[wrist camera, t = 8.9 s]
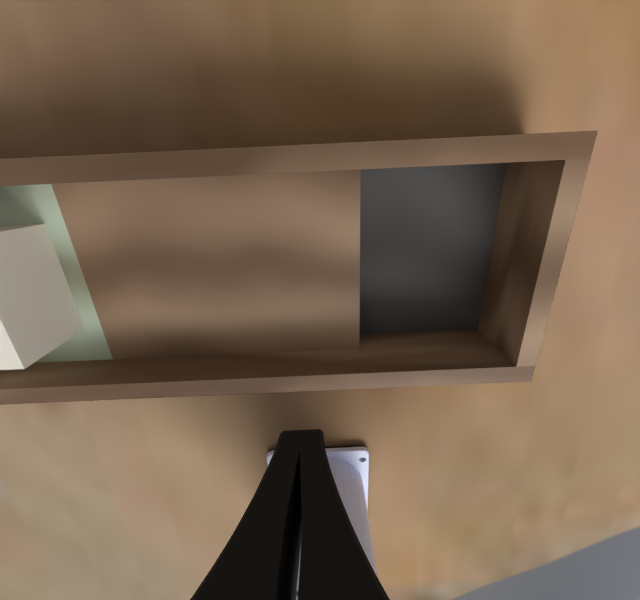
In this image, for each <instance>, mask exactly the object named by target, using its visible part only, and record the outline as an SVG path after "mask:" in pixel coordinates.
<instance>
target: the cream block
mask: <svg viewBox="0 0 640 600" xmlns="http://www.w3.org/2000/svg"><path fill="white" fill-rule="evenodd" d="M83 329H85V328H84V325H83V323H82V320H81V317H80V315H79V312H78V309H77V307H76V304H75V301H74V299H73V296H72V293H71V291H70V288H69V285H68V283H67V280H66V277H65V275H64V272H63V269H62V267H61V264H60V261H59V259H58V256H57V253H56V251H55V248H54V245H53V243H52V240H51V237H50V235H49V232H48V229H47V227H46V224H26V225H3V226H0V370H14V369H25V368H27V367H28V366H30V365H31V364H33V363H34V362H36V361H37V360H39V359H40V358H42V357H43V356H45V355H46V354H48V353H49V352H51V351H52V350H54V349H55V348H57V347H58V346H60V345H61V344H63V343H64V342H66V341H67V340H69V339H70V338H72V337H73V336H74V335H76V334H77V333H79V332H80V331H82V330H83Z"/></svg>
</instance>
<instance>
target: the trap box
mask: <svg viewBox="0 0 640 600" xmlns="http://www.w3.org/2000/svg"><path fill="white" fill-rule="evenodd" d="M597 132H598V131H580V132H559V133H538V134H516V135H495V136H474V137H453V138H431V139H410V140H389V141H368V142H346V143H325V144H304V145H282V146H261V147H240V148H219V149H197V150H176V151H155V152H134V153H112V154H91V155H70V156H49V157H27V158H6V159H0V226H3V225H26V224H46V227H47V229H48V232H49V235H50V237H51V240H52V243H53V245H54V248H55V251H56V253H57V256H58V259H59V261H60V264H61V267H62V269H63V272H64V275H65V277H66V280H67V283H68V285H69V288H70V291H71V293H72V296H73V299H74V301H75V304H76V307H77V309H78V312H79V315H80V317H81V320H82V323H83V325H84V328H85V329H83V330H82V331H80V332H79V333H77V334H76V335H74V336H73V337H72V338H70V339H69V340H67V341H66V342H64V343H63V344H61V345H60V346H58V347H57V348H55V349H54V350H52V351H51V352H49V353H48V354H46V355H45V356H43V357H42V358H40V359H39V360H37V361H36V362H34V363H33V364H31V365H30V366H28V367H27V368H25V369H14V370H0V405H1V404H24V403H47V402H70V401H93V400H115V399H138V398H161V397H184V396H207V395H230V394H253V393H276V392H299V391H322V390H345V389H368V388H391V387H414V386H437V385H460V384H483V383H506V382H529V381H531V380H532V376H533V373H534V369H535V365H536V361H537V357H538V354H539V350H540V346H541V342H542V339H543V335H544V331H545V327H546V324H547V320H548V316H549V312H550V309H551V305H552V301H553V297H554V294H555V290H556V286H557V282H558V278H559V275H560V271H561V267H562V263H563V260H564V256H565V252H566V248H567V245H568V241H569V237H570V233H571V230H572V226H573V222H574V218H575V215H576V211H577V207H578V203H579V199H580V196H581V192H582V188H583V184H584V181H585V177H586V173H587V169H588V166H589V162H590V158H591V154H592V151H593V147H594V143H595V139H596V136H597Z"/></svg>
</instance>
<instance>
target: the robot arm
mask: <svg viewBox="0 0 640 600" xmlns="http://www.w3.org/2000/svg"><path fill="white" fill-rule="evenodd" d="M362 457H364V458H362ZM267 465H268V467H267V470H266V472H265V474H264V476H263V478H262V480H261V482H260V484H259V486H258V489H257V491H256V493H255V495H254V497H253V499H252V500H251V502H250V504H249V506H248V508H247V510H246V511H245V513H244V515H243V517H242V519H241V521H240V523H239V524H238V526H237V528H236V529H235V531H234V533H233V535H232V536H231V538H230V540H229V541H228V543H227V545H226V546H225V548H224V549H223V551H222V553H221V554H220V556H219V557H218V559H217V561H216V562H215V564H214V565H213V567H212V568H211V570H210V571H209V573H208V574H207V576H206V577H205V579H204V580H203V582H202V583H201V585H200V586H199V588H198V589H197V591H196V592H195V594H194V595H193V596H192V598H191V599H190V600H390V599H389V598H388V596H387V594H386V592H385V591H384V589H383V587H382V585H381V583H380V582H379V580H378V578H377V571H376V565H375V558H374V551H373V545H372V538H371V532H370V525H369V519H368V473H369V452H368V449H367V448H366V447H343V448H325V445H324V439H323V432H322V431H321V430H320V429H318V430H295V431H283V432H282V433H281V434H280V436H279V440H278V442H277V445H276V448H275V450H273V451H270V452H268V453H267Z"/></svg>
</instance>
